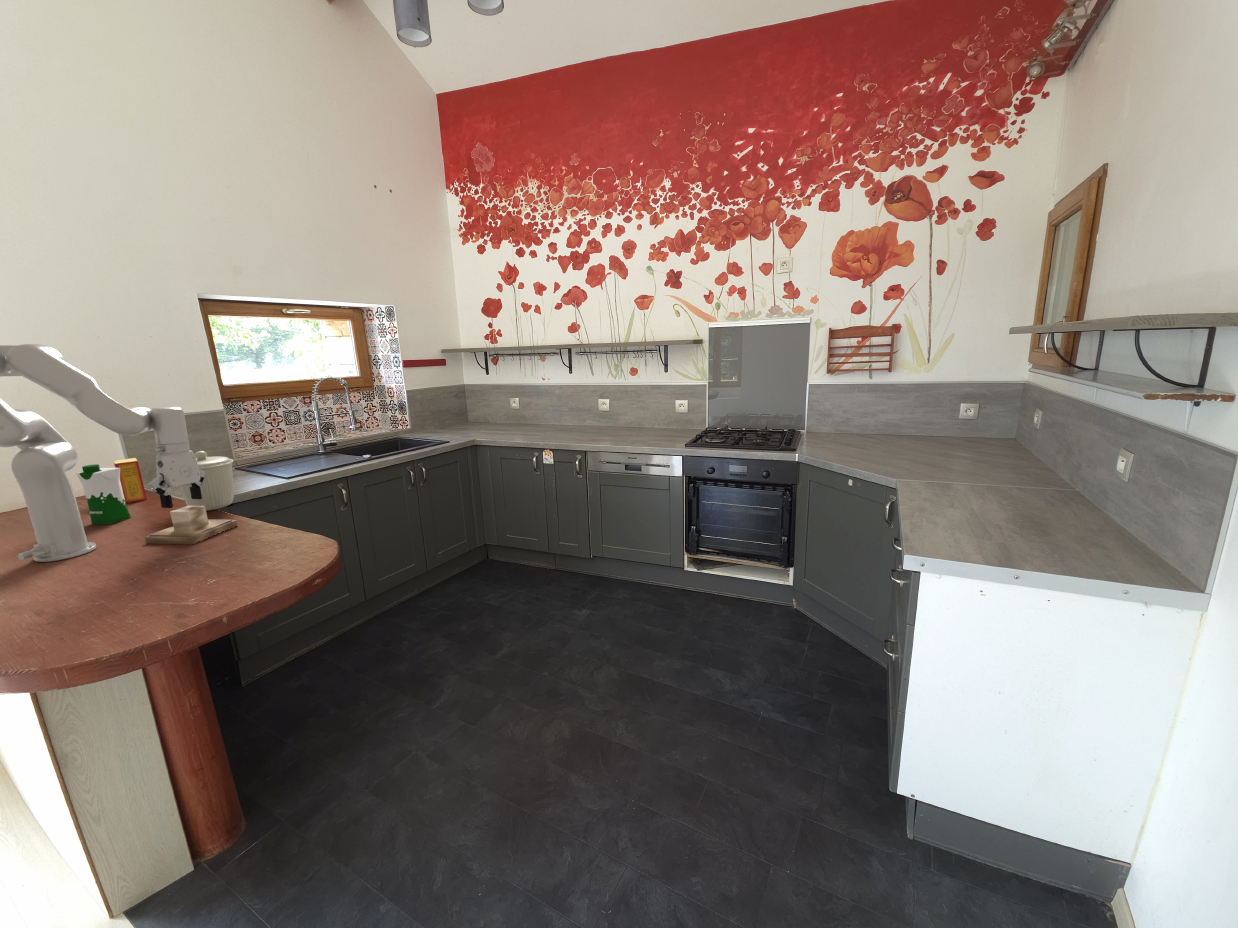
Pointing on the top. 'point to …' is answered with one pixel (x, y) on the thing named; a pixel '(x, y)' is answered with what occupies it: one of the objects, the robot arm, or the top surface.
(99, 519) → the milk carton
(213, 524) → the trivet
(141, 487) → the baking soda box
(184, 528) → the cube
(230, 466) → the canister
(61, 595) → the top surface
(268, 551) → the top surface
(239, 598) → the top surface
